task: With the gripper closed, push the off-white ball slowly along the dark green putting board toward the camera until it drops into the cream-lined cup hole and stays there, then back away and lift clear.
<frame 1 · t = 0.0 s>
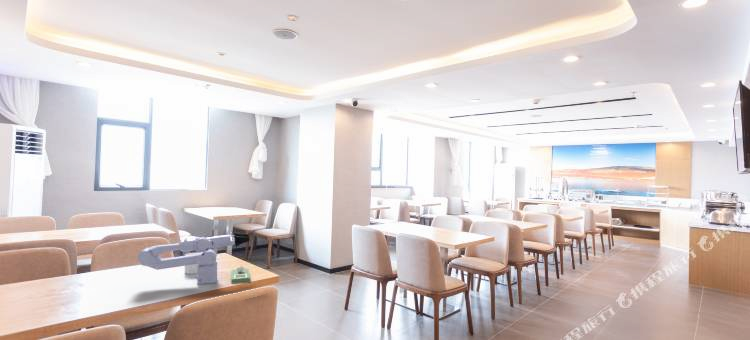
hand: (249, 237, 199), 22 cm above the table, tool horizontal, fingers open, 7 cm apart
green: (240, 277, 201), on the table
ball: (240, 269, 203), point 4 cm above the table, touching green
cup: (192, 271, 210), on the table
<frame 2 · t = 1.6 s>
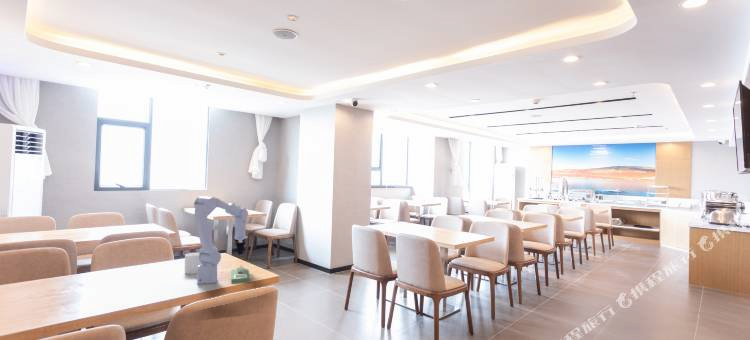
hand: (239, 252, 212), 10 cm above the table, tool pointing down, fingers open, 7 cm apart
nothing on the table moved.
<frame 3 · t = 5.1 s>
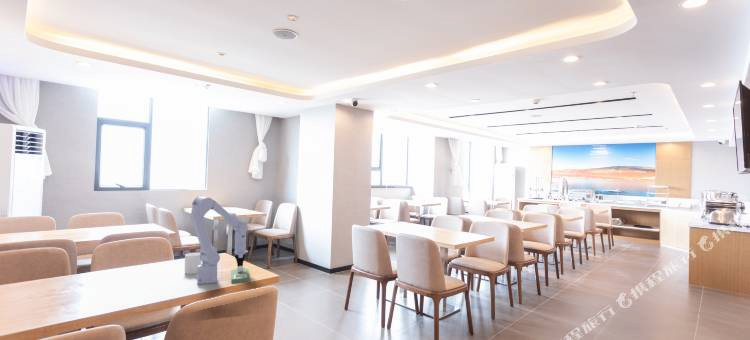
hand: (240, 267, 206), 4 cm above the table, tool pointing down, fingers closed, pressing on ball
ball: (240, 269, 203), point 4 cm above the table, touching green, gripper
everything else where it was.
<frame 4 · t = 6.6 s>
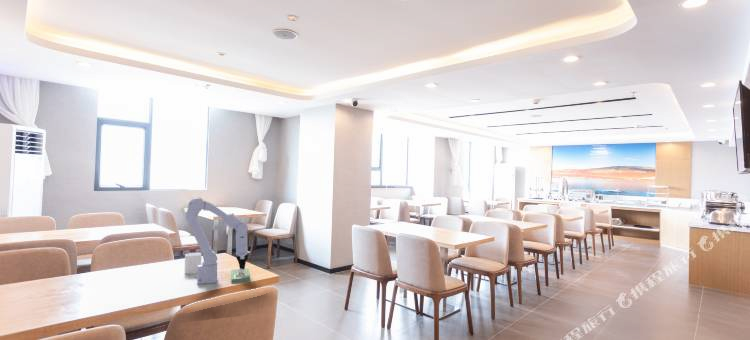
hand: (242, 269, 200), 4 cm above the table, tool pointing down, fingers closed, pressing on ball
ball: (241, 270, 200), point 4 cm above the table, tilted 113°, touching green, gripper
everything else where it was.
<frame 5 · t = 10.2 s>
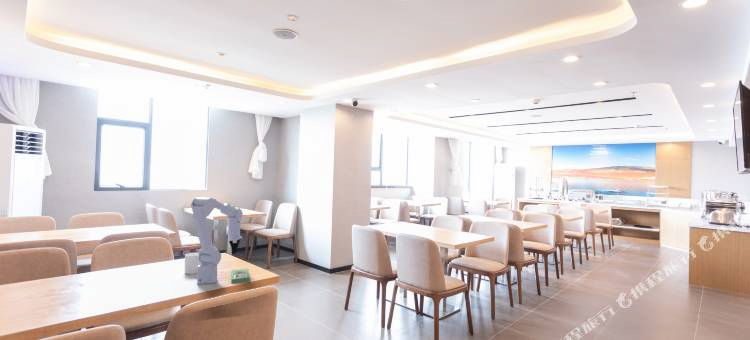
hand: (234, 253, 211), 10 cm above the table, tool pointing down, fingers closed
ball: (241, 276, 196), point 2 cm above the table, tilted 101°
everything else where it was.
at the end: ball 0.8 cm from the target spot, point 1.7 cm above the table; ball moved 8.3 cm from its start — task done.
